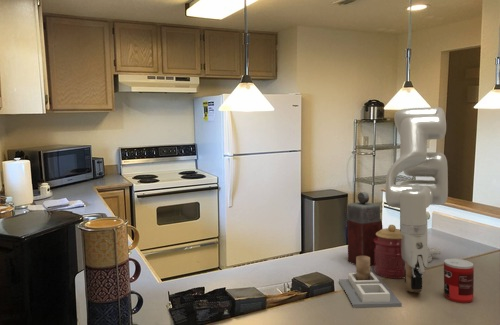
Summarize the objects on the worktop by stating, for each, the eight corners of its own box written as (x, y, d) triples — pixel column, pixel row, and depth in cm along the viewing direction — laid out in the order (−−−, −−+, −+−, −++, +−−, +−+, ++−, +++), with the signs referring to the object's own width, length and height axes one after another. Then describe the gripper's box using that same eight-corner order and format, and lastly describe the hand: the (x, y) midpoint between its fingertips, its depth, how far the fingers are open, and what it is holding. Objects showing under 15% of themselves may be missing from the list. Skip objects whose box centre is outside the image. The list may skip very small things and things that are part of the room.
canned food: (447, 290, 124) (447, 256, 123) (475, 296, 119) (475, 261, 118) (440, 299, 118) (440, 263, 117) (470, 305, 113) (470, 268, 112)
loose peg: (417, 286, 125) (417, 259, 125) (423, 292, 121) (423, 263, 120) (403, 286, 125) (403, 259, 125) (409, 292, 121) (408, 264, 120)
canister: (387, 281, 134) (387, 230, 132) (366, 269, 146) (366, 222, 145) (419, 276, 137) (419, 226, 136) (396, 265, 150) (396, 219, 148)
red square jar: (385, 263, 152) (384, 192, 150) (362, 268, 147) (361, 194, 146) (370, 257, 160) (369, 189, 158) (347, 261, 156) (346, 191, 154)
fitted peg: (368, 281, 131) (367, 255, 130) (372, 286, 127) (371, 259, 126) (355, 282, 131) (354, 255, 130) (358, 287, 127) (358, 259, 126)
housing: (379, 281, 134) (379, 271, 134) (401, 306, 114) (401, 294, 114) (339, 282, 134) (338, 272, 134) (353, 307, 114) (353, 296, 114)
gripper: (437, 235, 113) (437, 296, 115) (414, 222, 130) (414, 275, 131) (411, 236, 113) (412, 297, 115) (391, 222, 130) (392, 276, 132)
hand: (413, 285), depth 123 cm, fingers closed on loose peg, 4 cm apart
